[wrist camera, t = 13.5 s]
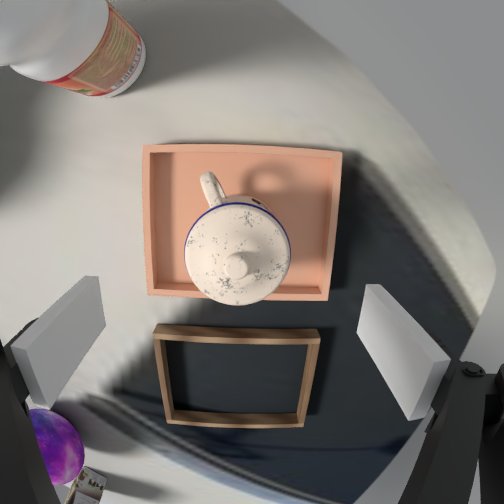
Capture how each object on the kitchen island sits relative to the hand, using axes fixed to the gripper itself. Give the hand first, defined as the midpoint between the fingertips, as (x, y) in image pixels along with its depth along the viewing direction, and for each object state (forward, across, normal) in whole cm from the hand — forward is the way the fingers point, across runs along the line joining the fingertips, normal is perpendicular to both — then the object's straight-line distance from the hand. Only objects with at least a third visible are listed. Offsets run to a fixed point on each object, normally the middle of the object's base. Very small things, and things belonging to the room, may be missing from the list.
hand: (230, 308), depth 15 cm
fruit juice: (+22, -16, +19) cm, 33 cm away
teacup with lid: (+21, 0, 0) cm, 21 cm away
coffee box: (+22, -34, -60) cm, 72 cm away
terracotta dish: (+22, 0, 0) cm, 22 cm away
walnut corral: (+22, 0, -22) cm, 31 cm away
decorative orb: (+22, -34, -39) cm, 56 cm away
